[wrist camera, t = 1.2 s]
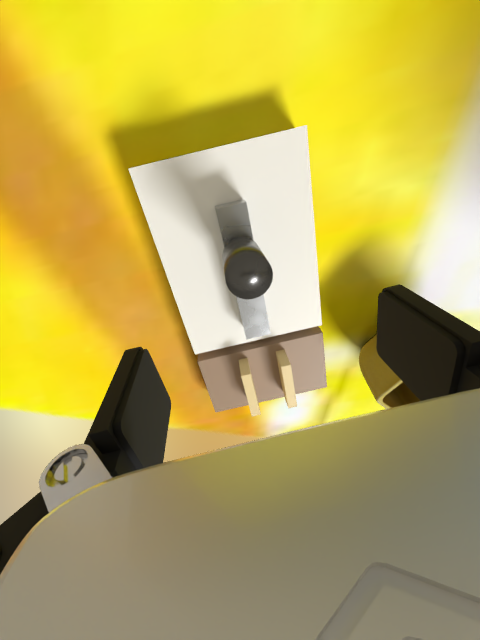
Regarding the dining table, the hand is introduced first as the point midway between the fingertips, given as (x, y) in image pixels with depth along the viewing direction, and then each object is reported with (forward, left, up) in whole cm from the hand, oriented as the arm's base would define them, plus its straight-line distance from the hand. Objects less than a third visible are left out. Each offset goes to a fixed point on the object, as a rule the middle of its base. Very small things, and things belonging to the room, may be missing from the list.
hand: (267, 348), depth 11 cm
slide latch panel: (0, +5, -19) cm, 20 cm away
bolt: (0, +2, -16) cm, 16 cm away
